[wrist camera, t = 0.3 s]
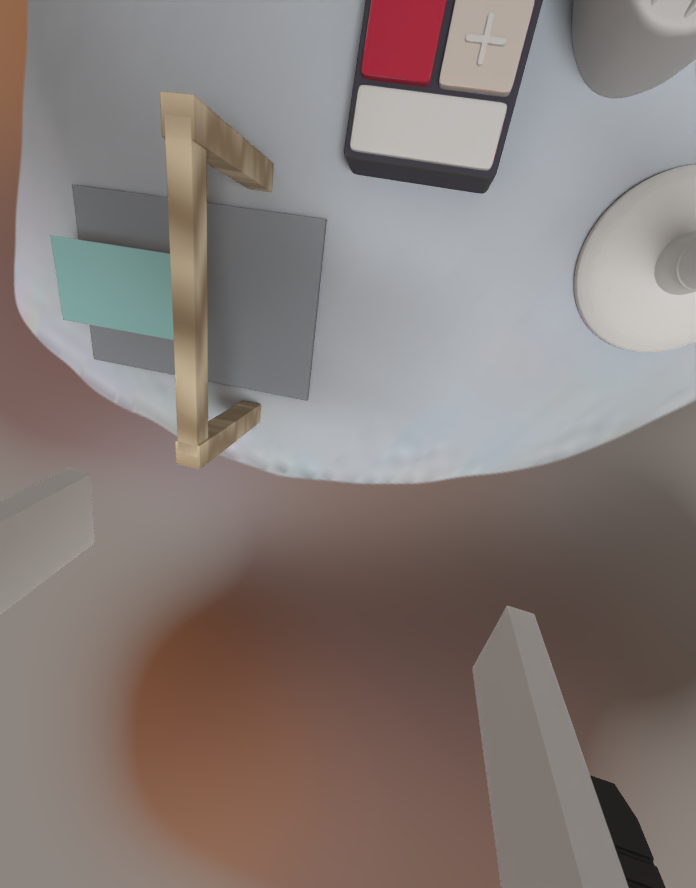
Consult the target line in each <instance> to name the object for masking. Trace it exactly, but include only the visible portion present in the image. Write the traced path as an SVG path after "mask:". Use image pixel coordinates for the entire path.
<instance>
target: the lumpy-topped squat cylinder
mask: <svg viewBox="0 0 696 888" xmlns="http://www.w3.org/2000/svg"><path fill="white" fill-rule="evenodd" d="M572 46H573V52H574V56H575V60H576V63H577V66H578V69H579V71H580V74H581V76H582V78H583V80H584V81H585V83H586V84H587V86H588V87H589V88H590V89H591V90H592V91H593V92H595V93H597V94H598V95H601V96H603V97H607V98H624V97H629V96H633V95H636V94H639V93H642V92H644V91H647V90H649V89H652V88H654V87H656V86H658V85H660V84H662V83H664V82H665V81H667V80H668V79H670V78H671V77H673V76H674V75H675V74H677V73H678V72H679V71H681V70H682V69H683V68H685V67H686V66H687V65H689V64H690V63H691V62H692V61H694V60H695V59H696V0H573V6H572Z"/></svg>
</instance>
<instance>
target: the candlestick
mask: <svg viewBox="0 0 696 888" xmlns="http://www.w3.org/2000/svg"><path fill="white" fill-rule="evenodd" d="M574 294H575V300H576V305H577V308H578V311H579V313H580V315H581V317H582V319H583V321H584V322H585V324H586V325H587V327H588V328H589V329H590V330H591V331H592V332H593V333H594V334H595V335H596V336H597V337H599V338H600V339H602V340H603V341H605V342H607V343H609V344H611V345H613V346H615V347H618V348H622V349H625V350H629V351H635V352H660V351H667V350H672V349H676V348H679V347H683V346H686V345H689V344H691V343H693V342H696V164H693V165H687V166H681V167H677V168H674V169H670V170H667V171H665V172H662V173H660V174H657V175H655V176H653V177H651V178H649V179H647V180H645V181H643V182H642V183H640V184H638V185H637V186H635V187H633V188H632V189H630V190H629V191H628V192H626V193H625V194H624V195H622V196H621V197H620V198H619V199H618V200H616V201H615V202H614V203H613V204H612V205H611V206H610V207H609V208H608V209H607V210H606V211H605V213H604V214H603V215H602V216H601V217H600V218H599V220H598V221H597V222H596V224H595V225H594V227H593V228H592V230H591V231H590V233H589V235H588V236H587V238H586V240H585V242H584V244H583V247H582V249H581V252H580V254H579V257H578V260H577V264H576V269H575V275H574Z"/></svg>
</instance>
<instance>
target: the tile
mask: <svg viewBox="0 0 696 888" xmlns="http://www.w3.org/2000/svg"><path fill="white" fill-rule="evenodd" d="M50 236H51V243H52V250H53V256H54V263H55V269H56V276H57V282H58V289H59V296H60V302H61V309H62V315H63V320H67V321H73V322H78V323H84V324H89V325H95V326H100V327H106V328H111V329H116V330H122V331H127V332H133V333H138V334H144V335H149V336H155V337H160V338H165V339H171V340H174V335H173V311H172V286H171V262H170V254H168V253H161V252H155V251H149V250H142V249H136V248H129V247H123V246H116V245H110V244H103V243H97V242H91V241H84V240H78V239H71V238H65V237H58V236H52V235H50Z"/></svg>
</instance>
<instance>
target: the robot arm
mask: <svg viewBox="0 0 696 888" xmlns="http://www.w3.org/2000/svg"><path fill="white" fill-rule="evenodd" d="M92 510H93V509H92V493H91V478H90V474H89V473H86V472H82V471H79V470H76V469H73V468H70V467H68V468H66V469H63V470H61V471H59V472H57V473H55V474H53V475H51V476H49V477H47V478H45V479H43V480H41V481H39V482H37V483H35V484H33V485H31V486H29V487H27V488H24V489H23V490H20V491H18V492H16V493H14V494H12V495H10V496H8V497H6V498H4V499H2V500H0V614H2V613H3V612H4V611H6V610H7V609H8V608H10V607H11V606H12V605H14V604H15V603H16V602H17V601H19V600H20V599H21V598H23V597H24V596H25V595H27V594H28V593H29V592H31V591H32V590H33V589H35V588H36V587H37V586H39V585H40V584H41V583H43V582H44V581H45V580H47V579H48V578H49V577H50V576H52V575H53V574H54V573H56V572H57V571H58V570H60V569H61V568H62V567H63V566H65V565H66V564H68V563H69V562H70V561H71V560H73V559H74V558H75V557H77V556H78V555H79V554H81V553H82V552H83V551H85V550H86V549H87V548H89V547H90V546H91V545H93V544H94V526H93V511H92ZM472 669H473V676H474V684H475V692H476V699H477V707H478V714H479V722H480V730H481V737H482V745H483V752H484V760H485V768H486V775H487V783H488V791H489V798H490V806H491V813H492V821H493V828H494V836H495V844H496V852H497V859H498V867H499V874H500V882H501V888H665V885H664V883H663V880H662V878H661V875H660V873H659V871H658V868H657V867H656V866H655V865H654V863H653V859H654V858H653V856H652V853H651V851H650V848H649V846H648V844H647V841H646V839H645V836H644V834H643V831H642V829H641V826H640V824H639V822H638V819H637V818H636V816H635V815H634V813H633V812H632V810H631V809H630V807H629V806H628V804H627V802H626V801H625V799H624V798H623V796H622V795H621V793H620V792H619V790H618V789H617V787H616V786H615V784H613V783H611V782H608V781H605V780H602V779H599V778H596V777H593V776H590V774H589V772H588V769H587V766H586V763H585V760H584V757H583V754H582V751H581V748H580V745H579V743H578V740H577V737H576V734H575V731H574V728H573V725H572V722H571V719H570V717H569V714H568V711H567V708H566V705H565V702H564V699H563V696H562V693H561V691H560V688H559V685H558V682H557V679H556V676H555V673H554V670H553V667H552V665H551V662H550V659H549V656H548V653H547V650H546V647H545V644H544V642H543V639H542V636H541V633H540V630H539V627H538V624H537V621H536V618H535V615H534V614H532V613H529V612H526V611H523V610H520V609H517V608H513V607H510V606H507V607H506V609H505V610H504V612H503V614H502V616H501V618H500V619H499V621H498V623H497V625H496V627H495V628H494V630H493V632H492V634H491V636H490V637H489V639H488V641H487V643H486V645H485V647H484V648H483V650H482V652H481V654H480V656H479V657H478V659H477V661H476V663H475V665H474V667H473V668H472Z"/></svg>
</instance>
